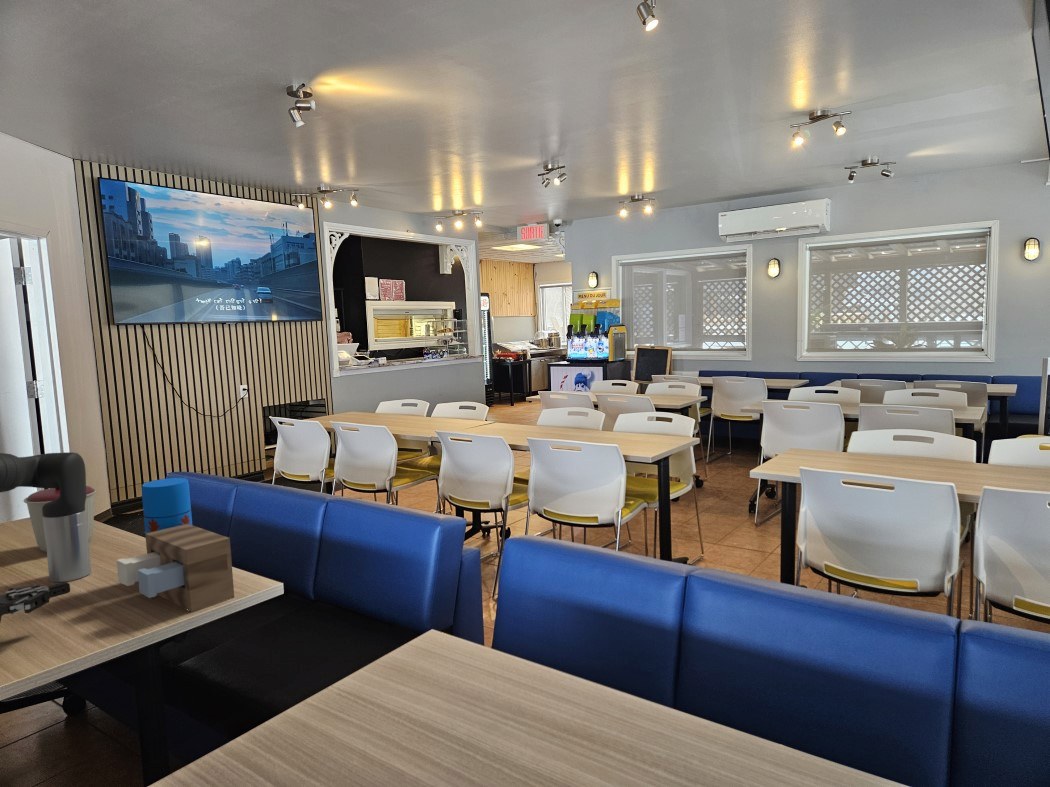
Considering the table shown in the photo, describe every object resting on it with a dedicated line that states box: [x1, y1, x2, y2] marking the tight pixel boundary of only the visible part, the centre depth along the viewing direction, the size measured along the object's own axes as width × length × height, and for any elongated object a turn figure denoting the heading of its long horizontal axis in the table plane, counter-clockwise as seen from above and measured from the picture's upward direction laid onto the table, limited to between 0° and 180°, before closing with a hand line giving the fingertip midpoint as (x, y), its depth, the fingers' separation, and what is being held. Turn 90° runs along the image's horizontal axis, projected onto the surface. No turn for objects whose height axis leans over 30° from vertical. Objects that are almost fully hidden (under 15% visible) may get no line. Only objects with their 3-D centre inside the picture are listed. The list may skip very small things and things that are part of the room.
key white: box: [116, 552, 161, 587], centre depth 155 cm, size 5×12×5 cm, turn 141°
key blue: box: [137, 561, 185, 599], centre depth 148 cm, size 5×12×5 cm, turn 141°
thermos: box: [141, 477, 193, 534], centre depth 169 cm, size 11×11×25 cm
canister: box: [23, 485, 97, 553], centre depth 198 cm, size 18×18×21 cm
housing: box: [144, 524, 235, 613], centre depth 157 cm, size 22×10×14 cm, turn 51°
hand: (68, 586), depth 143 cm, fingers closed
